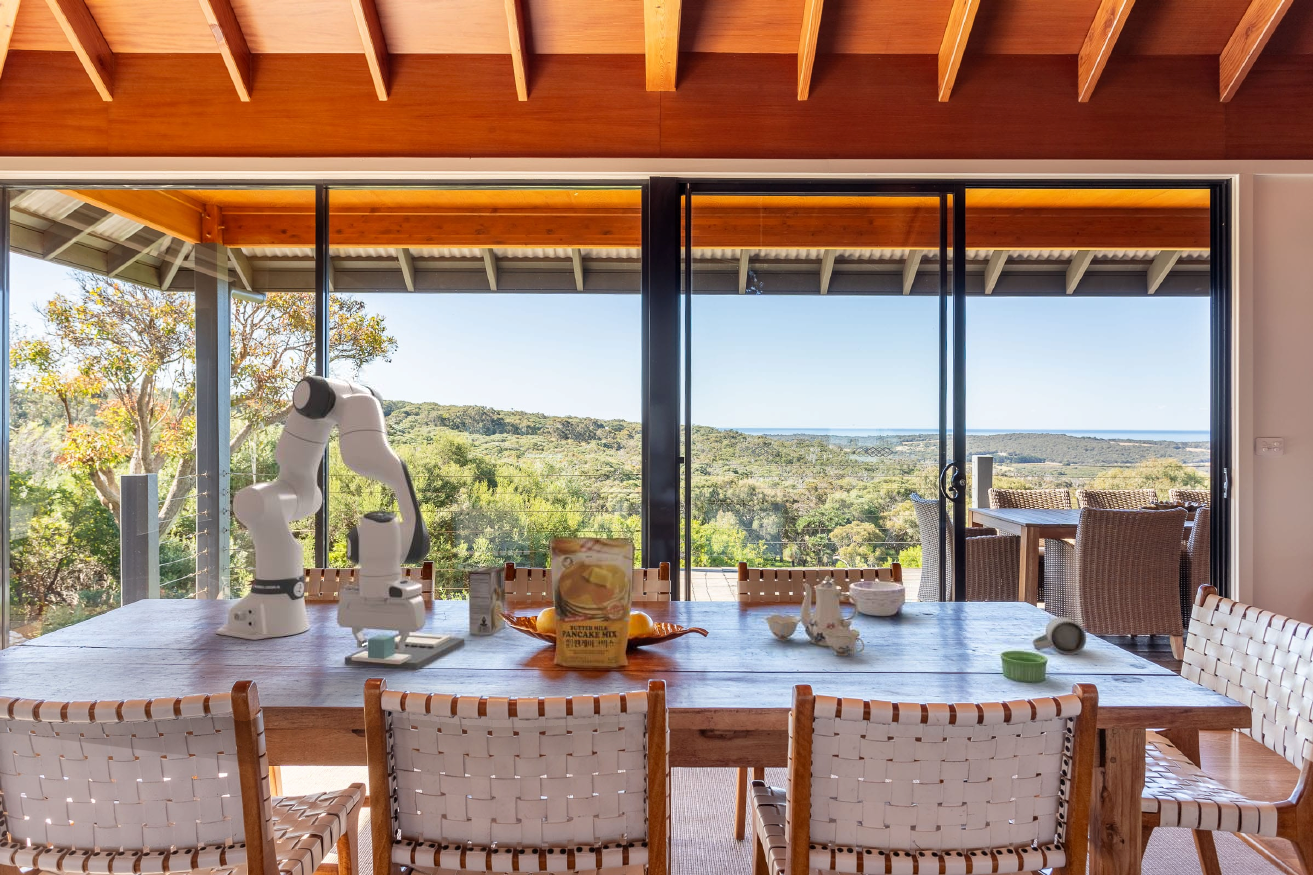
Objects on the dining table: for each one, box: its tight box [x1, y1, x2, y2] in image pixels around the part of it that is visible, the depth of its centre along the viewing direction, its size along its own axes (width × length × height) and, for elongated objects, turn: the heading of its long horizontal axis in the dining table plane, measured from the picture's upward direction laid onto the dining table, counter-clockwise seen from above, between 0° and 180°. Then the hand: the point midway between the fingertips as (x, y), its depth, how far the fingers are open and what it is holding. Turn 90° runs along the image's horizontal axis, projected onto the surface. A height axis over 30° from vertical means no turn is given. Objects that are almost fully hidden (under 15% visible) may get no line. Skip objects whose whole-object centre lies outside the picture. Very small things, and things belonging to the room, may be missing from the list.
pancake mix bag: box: [548, 536, 636, 669], centre depth 175 cm, size 7×19×28 cm, turn 85°
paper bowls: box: [849, 581, 906, 617], centre depth 224 cm, size 15×15×8 cm
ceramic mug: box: [1031, 616, 1087, 656], centre depth 186 cm, size 11×8×8 cm
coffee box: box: [468, 565, 506, 636], centre depth 205 cm, size 9×6×16 cm
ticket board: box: [344, 632, 466, 671], centre depth 183 cm, size 18×21×2 cm
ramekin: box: [1000, 650, 1049, 684], centre depth 165 cm, size 9×9×4 cm
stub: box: [352, 634, 411, 664], centre depth 173 cm, size 12×4×5 cm, turn 75°
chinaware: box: [764, 575, 865, 657], centre depth 191 cm, size 28×17×17 cm, turn 46°
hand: (380, 648), depth 173 cm, fingers open, 8 cm apart
